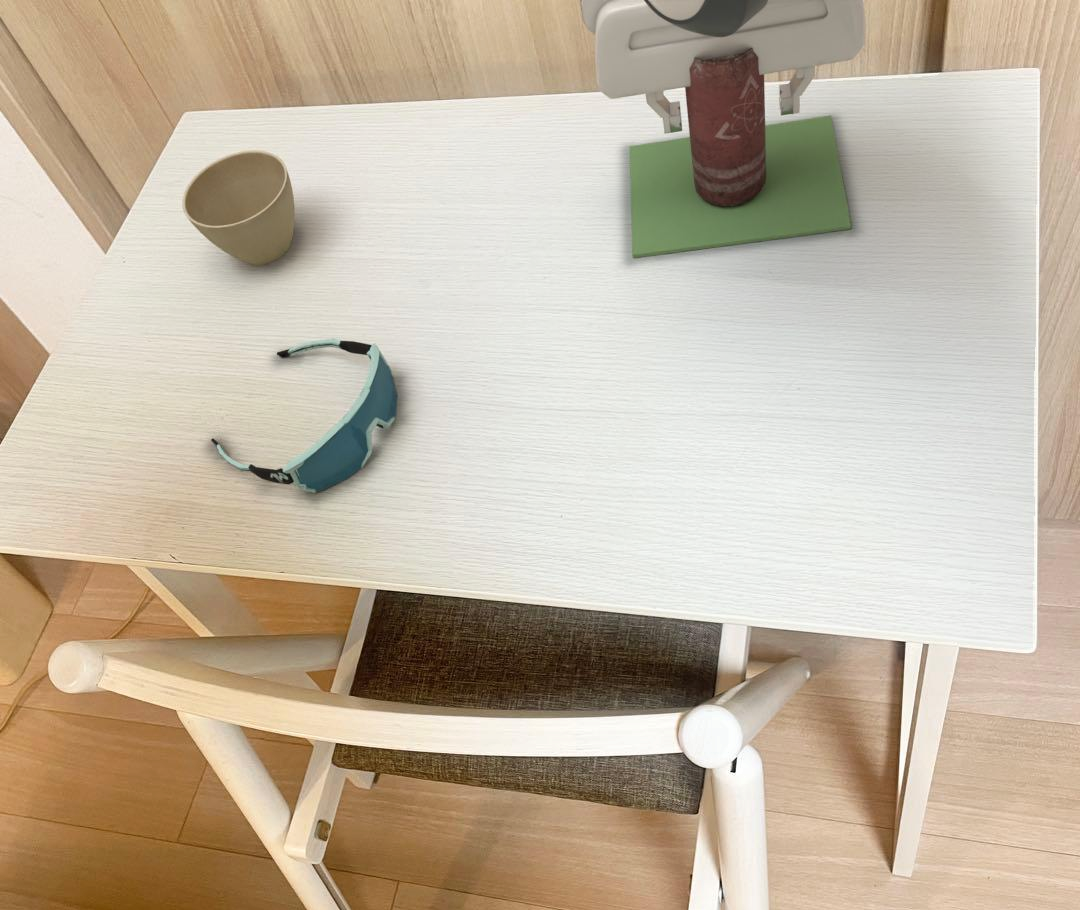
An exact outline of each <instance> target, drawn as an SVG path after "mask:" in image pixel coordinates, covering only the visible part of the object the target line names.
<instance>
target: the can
mask: <svg viewBox="0 0 1080 910" xmlns="http://www.w3.org/2000/svg"><path fill="white" fill-rule="evenodd" d="M689 70H690V80H691V81H690V86H689V87H684V88H685V101H686V109H687V110H686V111H687V113H686V114H687V123H688V133H689V137H690V144H691V154H692V165H693V175H694V185H695V189H696V192H697V193H698V194H699V196H700V197H701V198H702V199H703V200H704V201H706V202H707V203H709V204H711V205H713V206H718V207H735V206H740V205H743V204H745V203H747V202H749V201H751V200H752V199H753V198H754V197H756V196H757V195H758V193H759V192H760V191H761V189H762V188H763V186H764V185H765V181H766V137H765V126H766V101H765V99H766V98H765V97H766V96H765V74H763V75H760V74H759V64H758V56H757V55H756V54H755V52H754V51H753V48H751V49H750V50H749V51H747V52H746V53H741V54H735V55H729V56H723V57H717V58H711V59H706V60H700V59H697V58H695V57H694V61H693V63H692V65H691V67H690V69H689Z"/></svg>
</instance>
